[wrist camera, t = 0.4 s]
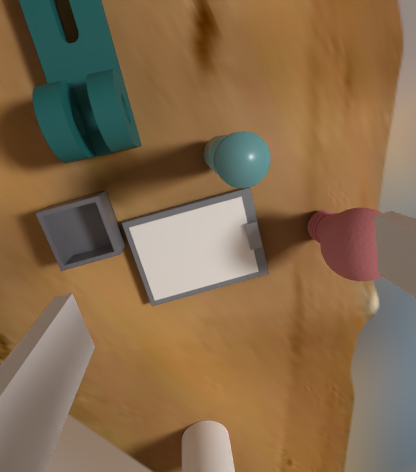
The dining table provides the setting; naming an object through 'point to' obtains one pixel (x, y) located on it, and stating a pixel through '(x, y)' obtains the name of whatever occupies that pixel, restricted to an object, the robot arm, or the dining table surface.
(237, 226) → the clipboard
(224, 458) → the cylindrical container
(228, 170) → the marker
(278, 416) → the dining table surface
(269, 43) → the dining table surface
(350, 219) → the light bulb
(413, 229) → the robot arm
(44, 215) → the pen holder
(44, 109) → the bracket
